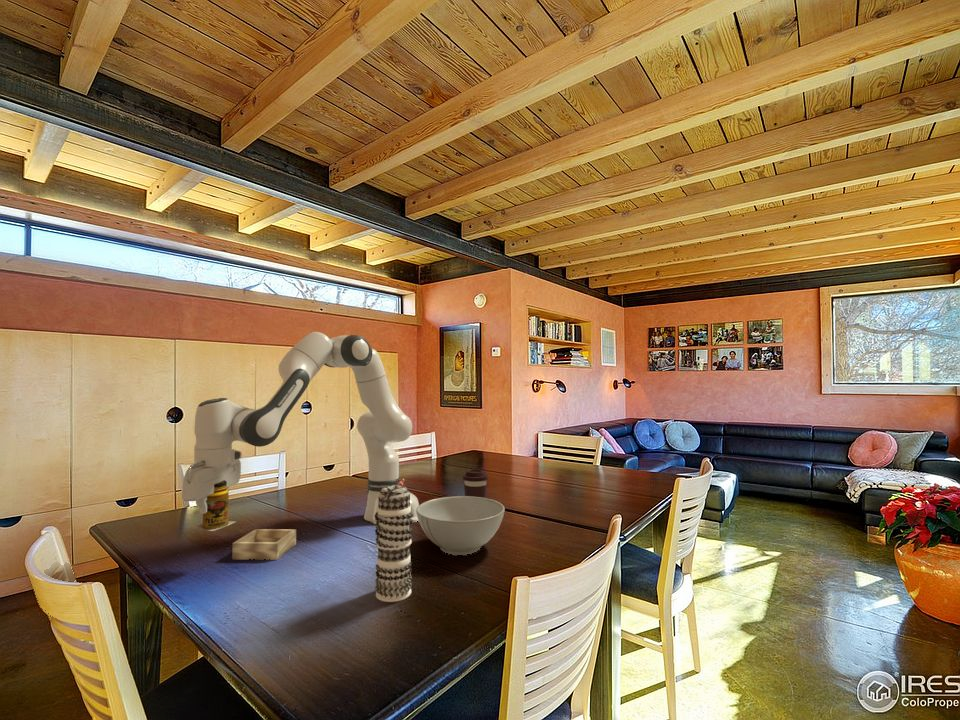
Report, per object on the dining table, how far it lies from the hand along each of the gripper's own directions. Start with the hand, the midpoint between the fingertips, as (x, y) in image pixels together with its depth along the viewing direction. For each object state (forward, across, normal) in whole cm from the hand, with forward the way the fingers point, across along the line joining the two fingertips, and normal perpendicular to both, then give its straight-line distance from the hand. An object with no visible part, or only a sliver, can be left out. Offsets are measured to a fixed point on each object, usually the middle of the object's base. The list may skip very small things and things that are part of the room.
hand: (213, 508), depth 121 cm
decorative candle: (+16, -14, -53) cm, 57 cm away
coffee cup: (+18, +56, -70) cm, 91 cm away
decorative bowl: (+17, +16, -67) cm, 70 cm away
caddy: (+16, +12, -9) cm, 22 cm away
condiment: (+5, 0, 0) cm, 5 cm away
